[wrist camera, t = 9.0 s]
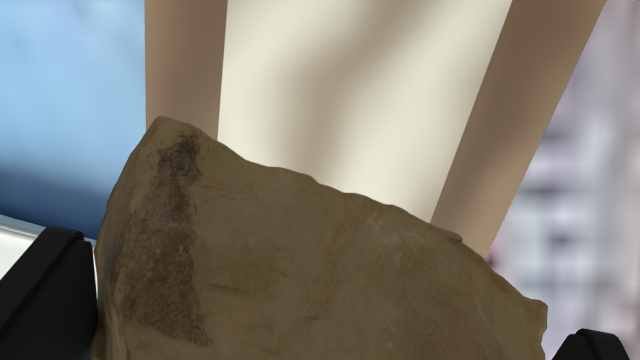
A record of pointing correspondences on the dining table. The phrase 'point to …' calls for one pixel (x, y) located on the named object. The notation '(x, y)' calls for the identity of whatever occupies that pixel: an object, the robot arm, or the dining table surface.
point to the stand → (375, 92)
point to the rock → (286, 269)
